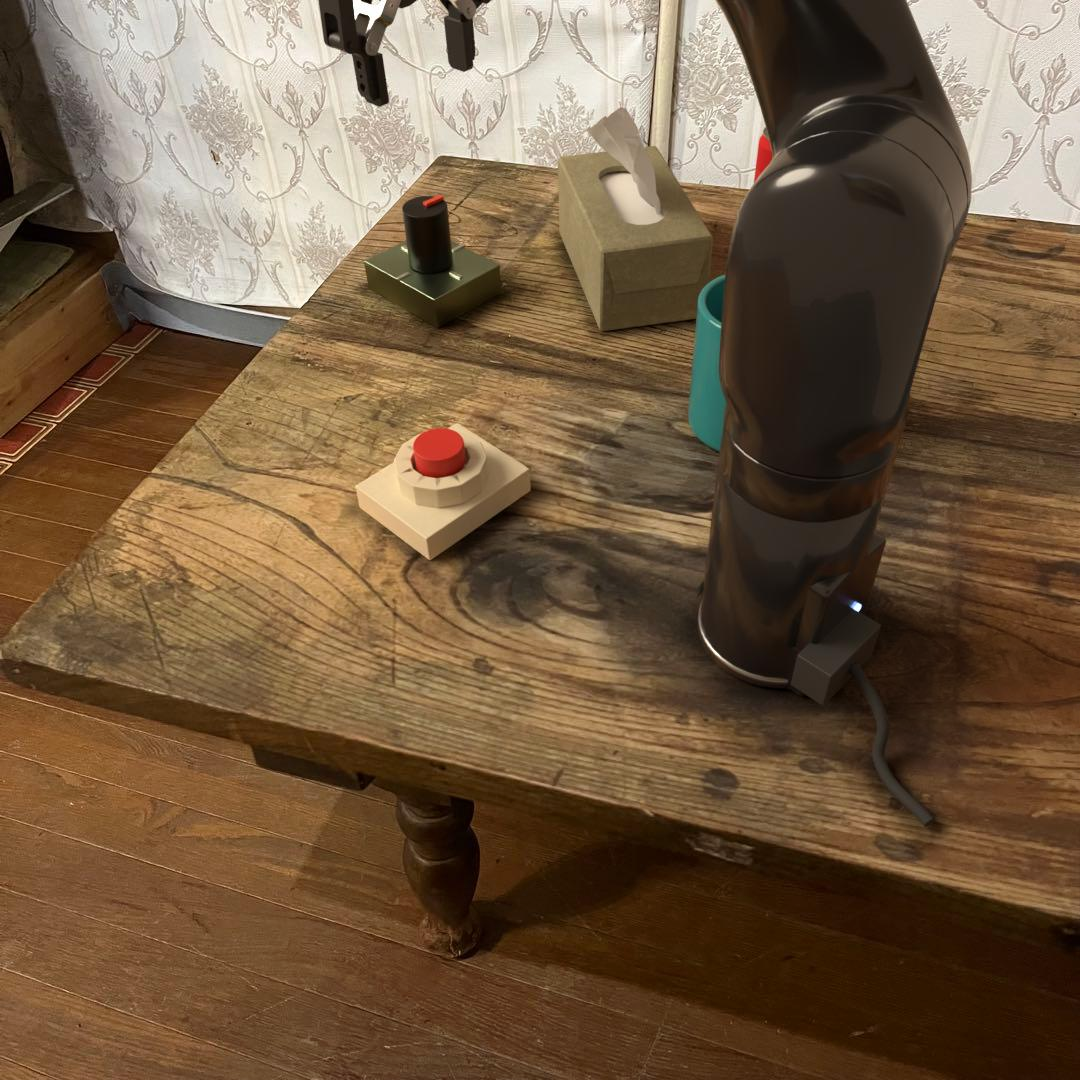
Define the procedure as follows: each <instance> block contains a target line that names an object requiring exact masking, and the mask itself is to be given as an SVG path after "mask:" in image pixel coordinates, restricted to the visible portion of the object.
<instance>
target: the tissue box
mask: <svg viewBox="0 0 1080 1080" xmlns="http://www.w3.org/2000/svg"><path fill="white" fill-rule="evenodd" d="M585 130H586V131H587V133H588V135H590V137H591V138H592V139H593V140H594V142H595V143H597V145H598V146H599V147H600V148H601V149H603V150H604V151H598V152H590V153H581V154H574V155H573V154H572V155H564V156H563V155H562V156H559V157H558V158H557V176H558V177H557V179H558V181H557V182H558V225H559V226H558V227H559V229H558V231H559V235H560V238H561V240H562V242H563V245H564V247H565V250H566V253H567V254H568V257H569V259H570V261H571V264H572V266H573V269H574V272H575V274H576V276H577V278H578V279H577V280H579V284H580V286H581V288H582V291H583V293H584V295H585V298H586V300H587V302H588V305H589V308H590V310H591V312H592V314H593V315H592V316H593V317H594V320H595V322H596V325H597V327H598V330H599V331H601V332H608V331H615V330H623V329H630V328H631V329H632V328H636V327H637V328H638V327H639V328H640V327H645V326H653V325H659V324H660V325H661V324H667V323H675V322H682V321H689V320H690V321H691V320H696V316H697V305H698V297H699V294H700V292H701V291H702V289H703V288H704V287H705V286H706V285H707V284H708V283H709V282H710V275H711V266H712V255H713V243H714V236H713V235H712V233H711V232H710V230H709V228H708V227H707V225H706V224H705V222H704V221H703V219H702V216H701V215H700V214H699V213H698V211H697V209H696V208H695V206H694V204H693V203H692V201H691V199H690V198H689V196H688V195H687V193H686V192H685V190H684V189H683V187H682V185H681V184H680V182H679V181H678V179H677V177H676V176H675V174H674V173H673V171H672V169H671V167H670V166H669V165H668V162H667V161H666V159H665V157H664V156H663V155H662V153H661V152H660V150H659V148H658V147H657V146H656V145H650V146H645V145H644V143H643V141H642V138H641V134H640V132H639V129H638V126H637V124H636V122H635V120H634V119H633V117H632V116H631V115H630V113H629V111H628V109H627V108H626V107H622V106H620V107H619V108H617V109H615V110H614V111H613V112H612V113H610V114H609V115H608V116H606V115H604V116H603V117H601V118H600V119H599V120H598V121H597V122H596V123H595V124H594V125H593V126H591V127H588V128H585Z"/></svg>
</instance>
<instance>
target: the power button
mask: <svg viewBox="0 0 1080 1080" xmlns="http://www.w3.org/2000/svg"><path fill="white" fill-rule="evenodd" d="M421 433H422V434H421ZM421 433H419V434H420V435H419V436H418V437H417V438H416V439H415V441H414V444H413V450H414V456H415V463H416V467H417V469H418V471H419V472H420V473H421V474H423V475H424V476H426V477H432V478H443V477H448V476H453V475H455V474H457V473H458V472H460V471H461V470H462V469H463V467H464V465H465V462H466V457H465V448H464V440H463V438H462V436H461V435H460V434H459V433H457V432H456V431H454V430H451V429H448V428H446V427H445V428H444V427H438V428H437V427H436V428H430V429H427V430H426V431H424V432H421Z"/></svg>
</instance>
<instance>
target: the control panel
mask: <svg viewBox="0 0 1080 1080" xmlns="http://www.w3.org/2000/svg"><path fill="white" fill-rule="evenodd" d="M451 247H452V257H453V262H452V264H451V265H450V266H449V267H448V268H447V269H445V270H443V271H440V272H435V273H422V272H418V271H416V270H414V269H412V268H411V266H410V264H409V256H408V249H407V242H406V239H405V240H404V241H402V242H401V241H400V242H399V243H398V244H395V245H393V246H391V247H389V248H387V249H385V250H383V251H381V252H379V253H377V254H375V255H373V256H370V257H368V258H366V259H365V260H363V264H364V265H363V266H364V271H365V276H366V282H367V288H368V290H370V291H372V292H373V293H375V294H377V295H379V296H381V298H384V299H385V300H387V301H389V302H391V303H393V304H395V305H396V306H398V307H399V308H401V309H403V310H405V311H406V312H408V313H410V314H412V315H413V316H415V317H417V318H419V319H420V320H422V321H424V322H426V323H428V324H429V325H431V326H433V327H434V328H436V329H439V328H442V326H444V325H446V324H448V323H450V322H451V321H453V320H455V319H458V318H459V317H461V316H462V315H464V314H466V313H468V312H469V311H472V310H473V309H475V308H477V307H479V306H481V305H482V304H484V303H485V302H488V301H489V300H492V299H494V298H495V297H497V296H499V295H501V294H502V282H501V280H502V279H501V267H500V266H501V265H500V264H499V263H497V262H495V261H494V260H491V259H489V258H487V257H485V256H483V255H481V254H479V253H477V252H475V251H474V250H471V249H469V248H468V247H466V244H464V243H461V244H459V243H457V242H455V241H453V240H451Z"/></svg>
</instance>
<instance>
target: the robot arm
mask: <svg viewBox="0 0 1080 1080" xmlns="http://www.w3.org/2000/svg"><path fill="white" fill-rule="evenodd" d="M378 1H379V3H378V4H377V5H374V4H373V0H318V8H319V14H320V24H321V30H322V37H323V42H324V44H325V46H327V47H329V48H331V49H335V50H338V51H341V52H344V53H345V54H347V55H351V57H352V62H353V69H354V74H355V80H356V87H357V91H358V93H359V95H360V97H362V98H364V100H365V101H366V102H367V103H369V104H371V105H374V106H376V107H378V108H380V107H383V106H385V105H388V104H389V103H390V97H389V90H388V84H387V77H386V70H385V63H384V55H383V53H381V52H379V50H380V48H381V44H382V43H383V42H382V41H383V39H384V36H385V33H386V30H387V28H388V27H390V26H391V25H392V24H394V21H395V20H396V19H395V18H396V16H397V13H398V9H401V10H402V9H405V8H408V7H411V6H412V5H413V4H414V3H416V2H417V1H418V0H378ZM436 1H437V3H438V4H439V5H440V7H441V8H442V9H443V10H444V11H445V13H447V14H448V15H445V16H443V23H444V32H445V42H446V52H447V61H448V62H447V63H448V65H449V67H450V68H452V69H453V70H457V71H460V72H463V73H465V72H469V71H471V70H472V69H473V68H474V61H475V59H476V45H475V44H476V40H475V30H474V29H475V27H474V18H475V16H476V14H477V10H478V9H479V7H480V6H482V5H483V4H484V5H487V4H490V3H491V1H492V0H436ZM714 1H715V2H716V4H717V6H718V7H719V9H720V11H721V12H722V14H723V15H724V17H725V19H726V21H727V24H728V26H729V27H730V30H731V32H732V33H733V36H734V38H735V41H736V44H737V45H738V48H739V50H740V53H741V55H742V57H743V61H744V64H745V66H746V69H747V71H748V75H749V77H750V81H751V83H752V86H753V89H754V92H755V95H756V98H757V102H758V104H759V108H760V112H761V115H762V118H763V122H764V126H765V127H766V130H767V134H768V138H769V142H770V146H771V151H772V160H771V162H770V163H769V164H768V166H767V167H766V168H765V169H764V171H763V172H762V173H761V175H760V176H759V177H758V179H757V180H756V181H755V183H754V182H753V183H752V185H751V187H750V188H749V190H748V191H747V193H746V194H745V196H744V198H743V200H742V202H741V203H740V206H739V208H738V211H737V213H736V216H735V220H734V222H733V226H732V232H731V236H730V241H729V245H728V252H727V257H726V265H725V266H726V267H725V273H724V275H725V285H724V297H723V310H722V323H721V338H720V352H719V380H720V384H721V388H722V391H723V394H724V397H725V399H726V402H725V411H724V420H723V428H722V436H721V445H720V452H718V461H717V470H716V477H715V484H714V485H715V486H714V494H713V503H712V510H711V519H710V525H709V534H708V535H709V536H708V541H707V542H708V543H707V551H706V559H705V567H704V577H703V580H702V582H701V583H700V584H699V586H698V587H697V588H698V589H697V595H696V596H697V597H696V598H697V599H698V598H699V597H700V596H701V601H700V605H699V608H698V613H697V614H698V615H697V623H696V624H697V625H696V626H697V634H698V638H699V641H700V643H701V645H702V648H703V649H704V651H705V652H706V654H707V655H708V657H709V658H710V659H711V660H712V661H713V662H714V663H715V664H716V665H717V666H718V667H719V668H721V669H722V670H723V671H725V672H726V673H728V674H729V675H731V676H732V677H735V678H736V679H738V680H741V681H743V682H745V683H748V684H751V685H755V686H759V687H764V688H772V689H787V690H788V691H791V692H792V693H794V694H795V695H796V696H799V697H805V696H807V697H808V698H810V699H812V700H813V701H815V702H816V703H818V705H820V706H822V707H824V706H826V704H827V703H828V702H829V701H830V700H831V699H832V698H833V697H834V696H835V695H836V693H838V691H839V690H840V689H841V688H842V687H844V685H846V683H847V682H848V681H849V680H850V679H851V678H852V680H853V681H854V683H855V684H856V686H857V687H858V689H859V690H860V692H861V694H862V695H863V697H864V698H865V699H866V701H867V703H868V705H869V707H870V709H871V711H872V713H873V717H874V719H875V723H876V733H875V737H874V739H873V742H872V743H873V744H872V749H871V756H872V757H871V758H872V761H873V762H872V763H873V765H874V767H875V770H876V772H877V774H878V776H879V778H880V780H881V781H882V783H883V784H884V786H885V787H886V789H887V790H888V791H889V792H890V793H891V794H892V795H893V796H894V798H895V799H897V800H898V801H899V802H900V803H901V805H903V806H904V807H905V808H906V809H907V810H908V811H909V812H910V813H911V814H912V815H913V816H914V817H915V818H916V819H917V820H918V821H919V822H920V823H921V825H922V826H923V827H925V828H927V827H930V825H932V824H933V823H934V822H935V821H936V819H935V818H934V816H933V815H932V814H931V812H929V810H927V809H926V808H925V806H923V805H922V804H921V802H919V801H918V799H916V798H915V797H914V796H913V795H911V793H909V791H908V790H907V789H905V787H903V785H901V783H900V782H899V781H898V780H897V779H896V777H895V776H894V775H893V773H892V772H891V770H890V767H889V765H888V761H887V759H886V753H885V752H886V747H887V745H888V744H887V743H888V741H889V738H890V737H889V736H890V729H891V728H890V721H889V717H888V714H887V710H886V708H885V705H884V703H883V701H882V699H881V697H880V696H879V694H878V693H877V691H876V689H875V688H874V686H873V685H872V683H871V681H870V680H869V679H868V677H867V676H866V674H865V673H864V671H863V669H862V666H863V665H864V664H865V663H866V662H867V661H868V660H869V659H870V658H871V657H872V656H873V653H874V651H875V648H876V644H877V640H878V637H879V634H880V631H881V628H882V625H881V624H880V623H878V622H876V621H875V620H873V619H871V618H870V617H868V616H867V615H866V612H867V609H868V605H869V603H870V599H871V595H872V593H873V588H874V585H875V582H876V579H877V575H878V572H879V569H880V566H881V565H880V564H881V561H882V558H883V556H884V555H883V554H884V551H885V547H886V544H887V539H886V537H885V536H884V535H882V534H880V533H878V532H876V531H877V527H878V523H879V519H880V516H881V512H882V509H883V505H884V501H885V497H886V494H887V491H888V487H889V483H890V479H891V476H892V473H893V469H894V465H895V463H896V459H897V456H898V455H897V454H898V451H899V447H900V444H901V441H902V439H903V434H904V431H905V427H906V425H907V424H906V423H907V420H908V416H909V414H910V412H911V411H910V409H911V404H912V402H911V401H912V400H911V399H912V397H911V395H912V394H911V390H912V386H913V384H914V379H915V376H916V373H917V367H918V365H919V361H920V358H921V354H922V351H923V347H924V343H925V339H926V336H927V332H928V329H929V324H930V321H931V318H932V314H933V310H934V307H935V304H936V300H937V297H938V294H939V290H940V287H941V283H942V279H943V277H944V274H945V271H946V269H947V266H948V265H949V262H950V261H951V258H952V256H953V253H954V251H955V248H956V247H957V244H958V241H959V240H960V237H961V234H962V232H963V230H964V227H965V225H966V222H967V217H968V215H969V211H970V208H971V202H972V192H973V191H972V189H973V187H972V185H973V177H972V176H973V175H972V173H973V172H972V165H971V160H970V155H969V151H968V148H967V145H966V142H965V139H964V136H963V133H962V131H961V128H960V126H959V122H958V120H957V118H956V115H955V113H954V111H953V108H952V106H951V103H950V101H949V98H948V95H947V94H946V92H945V89H944V87H943V84H942V81H941V80H940V77H939V75H938V72H937V70H936V67H935V65H934V63H933V61H932V59H931V56H930V54H929V51H928V49H927V47H926V45H925V42H924V39H923V37H922V34H921V32H920V29H919V27H918V25H917V22H916V20H915V18H914V16H913V13H912V11H911V7H910V6H909V3H908V1H907V0H714Z"/></svg>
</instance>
